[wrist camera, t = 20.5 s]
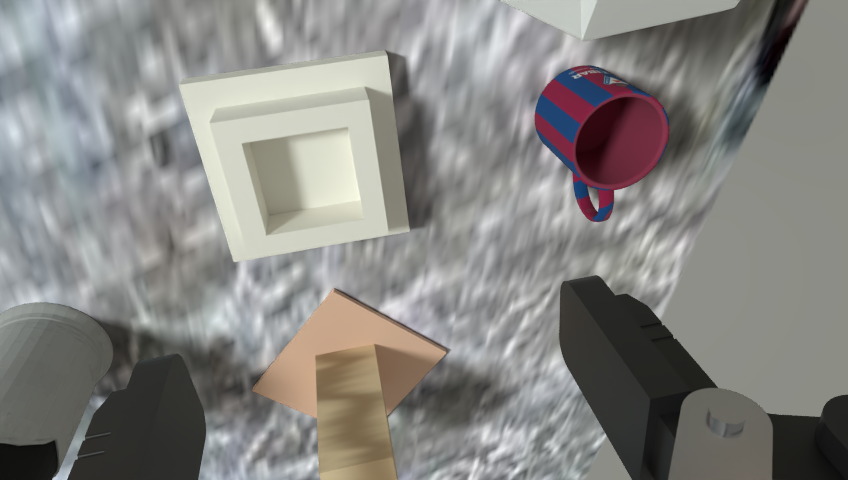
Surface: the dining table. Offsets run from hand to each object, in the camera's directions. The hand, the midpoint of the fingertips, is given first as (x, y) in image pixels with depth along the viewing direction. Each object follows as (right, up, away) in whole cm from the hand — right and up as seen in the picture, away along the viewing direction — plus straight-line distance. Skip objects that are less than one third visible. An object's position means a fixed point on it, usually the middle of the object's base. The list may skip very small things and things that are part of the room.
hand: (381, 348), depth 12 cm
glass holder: (-29, -8, +34) cm, 45 cm away
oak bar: (-6, -9, +39) cm, 40 cm away
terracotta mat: (-5, -9, +39) cm, 40 cm away
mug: (+12, +10, +32) cm, 36 cm away
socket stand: (-7, +8, +29) cm, 31 cm away
